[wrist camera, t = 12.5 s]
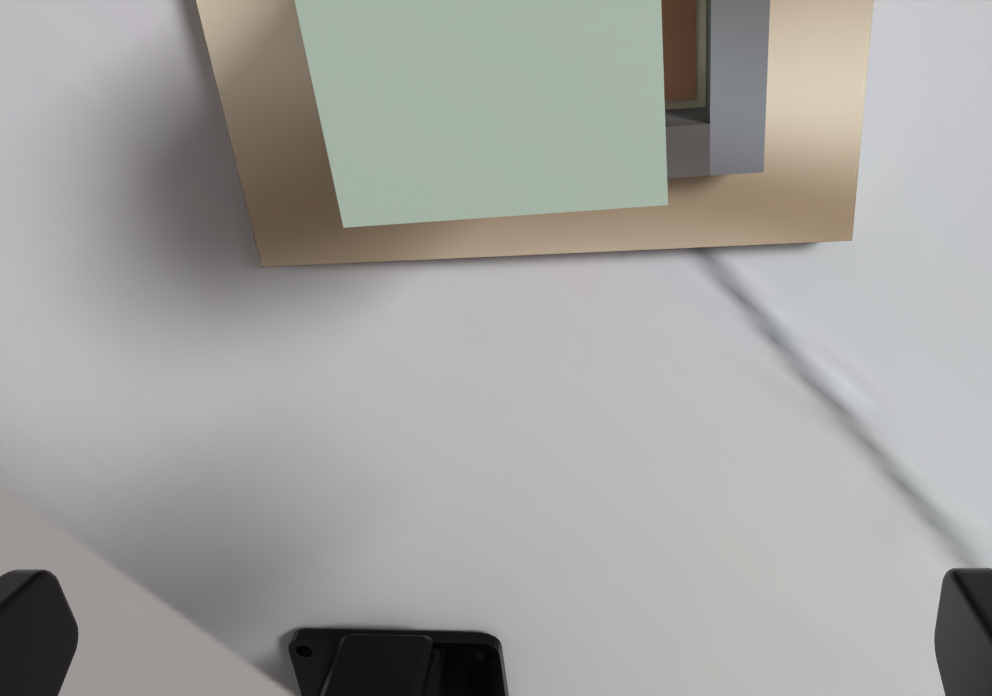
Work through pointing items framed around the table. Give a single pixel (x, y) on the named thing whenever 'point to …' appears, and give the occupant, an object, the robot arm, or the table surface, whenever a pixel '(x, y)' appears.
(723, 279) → the table surface
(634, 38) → the block
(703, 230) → the board
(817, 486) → the table surface
